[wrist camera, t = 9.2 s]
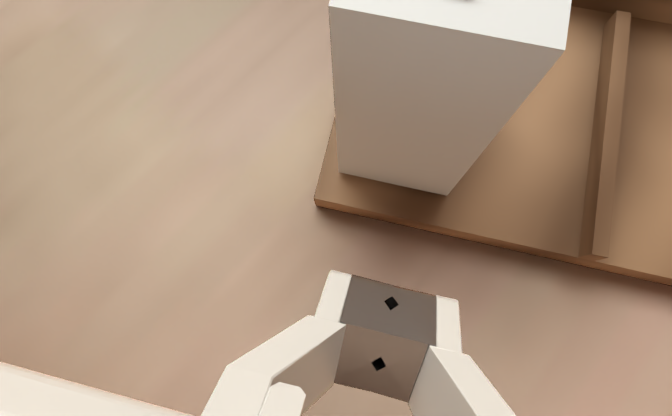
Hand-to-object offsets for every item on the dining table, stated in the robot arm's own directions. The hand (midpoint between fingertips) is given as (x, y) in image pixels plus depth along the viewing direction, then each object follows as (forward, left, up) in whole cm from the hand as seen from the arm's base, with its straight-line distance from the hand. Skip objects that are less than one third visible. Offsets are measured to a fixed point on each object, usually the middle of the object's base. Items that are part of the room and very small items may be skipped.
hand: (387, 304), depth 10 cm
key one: (-4, +6, -7) cm, 10 cm away
